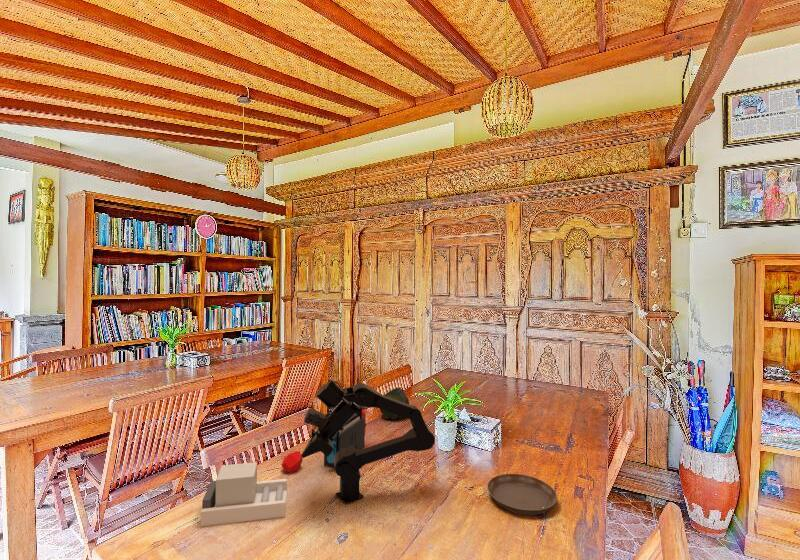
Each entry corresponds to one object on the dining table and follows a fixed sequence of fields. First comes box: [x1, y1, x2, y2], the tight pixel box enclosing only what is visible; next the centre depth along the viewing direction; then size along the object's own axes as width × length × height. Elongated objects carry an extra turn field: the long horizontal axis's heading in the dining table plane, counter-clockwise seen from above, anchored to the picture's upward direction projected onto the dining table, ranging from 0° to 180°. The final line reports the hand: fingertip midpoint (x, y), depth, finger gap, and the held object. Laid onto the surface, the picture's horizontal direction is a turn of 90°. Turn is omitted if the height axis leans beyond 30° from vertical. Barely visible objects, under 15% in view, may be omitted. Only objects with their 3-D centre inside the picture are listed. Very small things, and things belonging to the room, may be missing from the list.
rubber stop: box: [201, 480, 216, 510], centre depth 117 cm, size 2×11×5 cm, turn 13°
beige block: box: [215, 461, 258, 507], centre depth 118 cm, size 10×9×8 cm
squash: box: [379, 387, 410, 421], centre depth 199 cm, size 14×15×15 cm
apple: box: [281, 450, 304, 474], centre depth 143 cm, size 7×7×8 cm
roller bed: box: [200, 478, 288, 527], centre depth 119 cm, size 22×14×4 cm, turn 103°
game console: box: [323, 408, 367, 468], centre depth 155 cm, size 28×6×15 cm, turn 159°
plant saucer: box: [486, 473, 558, 516], centre depth 126 cm, size 21×21×3 cm
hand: (302, 456), depth 123 cm, fingers closed
